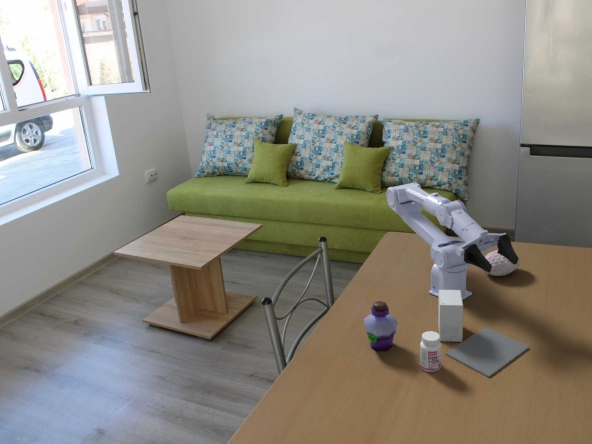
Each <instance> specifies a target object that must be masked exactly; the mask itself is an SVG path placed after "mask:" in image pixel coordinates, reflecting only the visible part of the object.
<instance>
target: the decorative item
mask: <svg viewBox="0 0 592 444" xmlns="http://www.w3.org/2000/svg"><path fill="white" fill-rule="evenodd" d="M497 252H498V249H496V250H493V251H491V252H488V253H487V254H486V255H485V256H484V257H485V258H486V259H487V260H488V261H489V262H490V264H491V265H492V268H491V272H489V273H488V272H486V271H485V270H483V269H482V271H483V272H484V273H485V274H488V275H492V276H495V277H501V276H502V277H503V276H506V275H510V274H511V273H512V272H514V271H515V270H517V268H518V267H519V266H520V260H521V259H520V256H518V254H517V253H516V255H517V256H518V258H519V259H518V262H517V264H515V265H514V264H512V263H511V262H510V261H509V260H508V259H507V258H505V257H504V256H502V255H500V254H498V253H497Z"/></svg>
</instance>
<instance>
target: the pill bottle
mask: <svg viewBox="0 0 592 444" xmlns="http://www.w3.org/2000/svg"><path fill="white" fill-rule="evenodd" d="M419 347H420V348H419V349H420V350H419V359H420V360H419V365H420V366H419V367H420V368H421V369H422V370H423V371H425V372H428V373H434V372H438V371H439V370H440V369H441V367H442V343H441V341H440V335H439V332H436V331H431V330H429V331H425V332H423V333H422V334H421V341H420V343H419Z"/></svg>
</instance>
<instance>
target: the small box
mask: <svg viewBox="0 0 592 444" xmlns="http://www.w3.org/2000/svg"><path fill="white" fill-rule="evenodd" d="M463 301H464V300H462V295H461V290H439V297H438V316H437V317H438V318H437V319H438V320H437V321H438V323H437V324H438V334H439V335H440V342H455V343H458V342H460V343H462V342H463V332H464V330H463V328H464V327H463V326H464V323H463V321H464V302H463Z"/></svg>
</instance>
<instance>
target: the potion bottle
mask: <svg viewBox="0 0 592 444" xmlns="http://www.w3.org/2000/svg"><path fill="white" fill-rule="evenodd" d="M370 311H371V313H370V314H369V315H367V316H366V317H364V318H363V323H364V327H365V331H366V334H367V338H368V340H369V341H370V347H371V349H372V350H375V351H377V352H386V351H387V352H388V351H389V350H390V349H391V348H392V347H393V342H394V337H395V335H396V333H397V329H398V326H399V323H398V321H397V317H396V315H392V314H390V309H389V306H388V305H387V302H385V301H383V300H377V301H374V302H373V303H372V306H371V307H370Z"/></svg>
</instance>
